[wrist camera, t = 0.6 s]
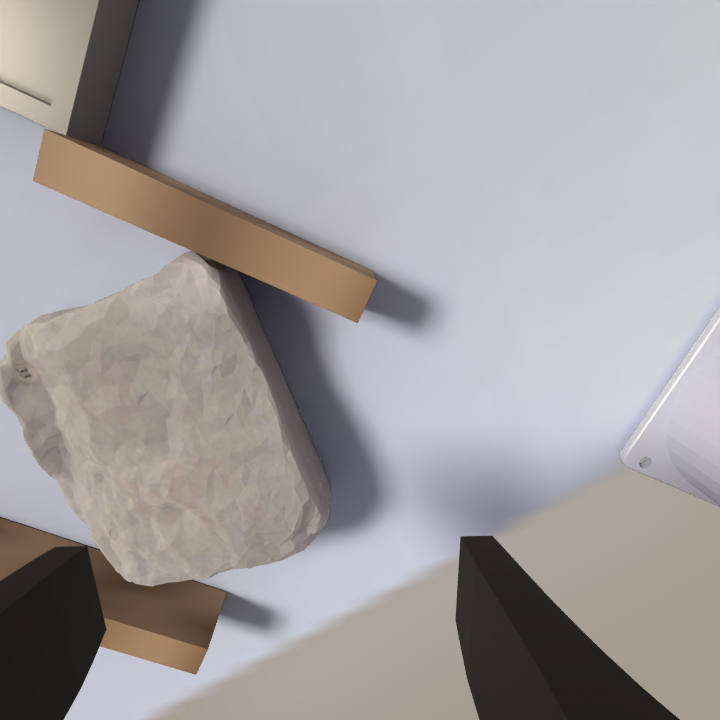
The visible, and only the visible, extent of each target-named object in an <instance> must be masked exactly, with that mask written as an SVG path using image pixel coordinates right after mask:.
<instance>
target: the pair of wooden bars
mask: <svg viewBox="0 0 720 720" xmlns="http://www.w3.org/2000/svg"><path fill="white" fill-rule="evenodd" d="M33 181H35V182H37V183H39V184H41V185H44V186H46V187H48V188H51V189H53V190H55V191H57V192H60V193H62V194H64V195H67V196H69V197H71V198H73V199H76V200H78V201H80V202H82V203H85V204H87V205H89V206H92V207H94V208H96V209H98V210H101V211H103V212H105V213H108V214H110V215H112V216H114V217H117V218H119V219H121V220H124V221H126V222H128V223H130V224H133V225H135V226H137V227H140V228H142V229H144V230H146V231H149V232H151V233H153V234H155V235H158V236H160V237H162V238H165V239H167V240H169V241H171V242H174V243H176V244H178V245H181V246H183V247H185V248H187V249H190V250H192V251H194V252H197V253H199V254H201V255H203V256H206V257H208V258H210V259H213V260H215V261H217V262H219V263H222V264H224V265H226V266H228V267H231V268H233V269H235V270H238V271H240V272H242V273H244V274H247V275H249V276H251V277H254V278H256V279H258V280H260V281H263V282H265V283H267V284H270V285H272V286H274V287H276V288H279V289H281V290H283V291H286V292H288V293H290V294H292V295H295V296H297V297H299V298H301V299H304V300H306V301H308V302H311V303H313V304H315V305H317V306H320V307H322V308H324V309H327V310H329V311H331V312H333V313H336V314H338V315H340V316H343V317H345V318H347V319H349V320H352V321H354V322H356V323H358V322H359V319H360V317H361V315H362V313H363V311H364V308H365V306H366V304H367V302H368V300H369V298H370V295H371V293H372V291H373V289H374V287H375V285H376V282H377V279H376V277H375V275H374V273H373V271H371V270H369V269H367V268H365V267H363V266H361V265H358V264H356V263H354V262H352V261H350V260H348V259H345V258H343V257H341V256H339V255H337V254H334V253H332V252H330V251H328V250H326V249H324V248H321V247H319V246H317V245H315V244H313V243H311V242H308V241H306V240H304V239H302V238H300V237H297V236H295V235H293V234H291V233H289V232H287V231H284V230H282V229H280V228H278V227H276V226H273V225H271V224H269V223H267V222H265V221H263V220H260V219H258V218H256V217H254V216H252V215H250V214H247V213H245V212H243V211H241V210H239V209H236V208H234V207H232V206H230V205H228V204H226V203H223V202H221V201H219V200H217V199H215V198H213V197H210V196H208V195H206V194H204V193H202V192H199V191H197V190H195V189H193V188H191V187H189V186H186V185H184V184H182V183H180V182H178V181H175V180H173V179H171V178H169V177H167V176H165V175H162V174H160V173H158V172H156V171H154V170H152V169H149V168H147V167H145V166H143V165H141V164H138V163H136V162H134V161H132V160H130V159H128V158H125V157H123V156H121V155H119V154H117V153H115V152H112V151H110V150H108V149H106V148H104V147H101V146H99V145H95V144H92V143H89V142H86V141H82V140H79V139H76V138H73V137H69V136H66V135H63V134H59V133H56V132H53V131H50V130H46V129H45V130H44V134H43V139H42V143H41V148H40V152H39V156H38V161H37V165H36V169H35V174H34V178H33ZM69 546H85V545H82V544H79V543H76V542H73V541H70V540H67V539H64V538H61V537H58V536H55V535H52V534H49V533H46V532H42V531H39V530H36V529H33V528H30V527H27V526H24V525H21V524H18V523H15V522H12V521H9V520H6V519H3V518H0V581H1V580H2V579H4V578H6V577H7V576H9V575H10V574H12V573H13V572H15V571H16V570H18V569H20V568H21V567H23V566H24V565H26V564H27V563H29V562H31V561H32V560H34V559H35V558H37V557H39V556H40V555H42V554H44V553H46V552H47V551H49V550H51V549H53V548H54V547H69ZM87 547H88V546H87ZM88 552H89V556H90V560H91V565H92V569H93V573H94V578H95V582H96V586H97V590H98V595H99V599H100V603H101V608H102V612H103V616H104V621H105V625H106V629H107V630H106V632H105V634H104V637H103V639H102V641H101V644H100V646H101V647H105V648H108V649H112V650H115V651H118V652H122V653H125V654H128V655H132V656H135V657H138V658H142V659H145V660H149V661H152V662H155V663H159V664H162V665H165V666H169V667H172V668H175V669H179V670H182V671H186V672H189V673H192V674H197V672H198V670H199V667H200V665H201V663H202V661H203V659H204V656H205V654H206V652H207V650H208V647H209V644H210V641H211V638H212V635H213V632H214V629H215V626H216V623H217V620H218V617H219V613H220V610H221V607H222V604H223V601H224V598H225V595H226V592H225V591H222V590H219V589H216V588H213V587H210V586H207V585H204V584H201V583H198V582H195V581H192V580H186V581H180V582H169V583H164V584H160V585H155V586H146V585H140V584H135V583H134V582H133V581H132V582H129V581H127V580H125V579H124V578H123V577H122V575H121V574H120V573H118V572H116V570H115V569H114V567H113V566H112V565H111V564H110V562H109V561H108V560H107V558H106V557H105V556H104V554H103V553H102V552H101V551H100V550H97V549H94V548H91V547H88Z"/></svg>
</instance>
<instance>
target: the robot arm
mask: <svg viewBox="0 0 720 720" xmlns="http://www.w3.org/2000/svg"><path fill="white" fill-rule="evenodd" d="M645 457H646V459H645V461H644V462H642V463H640V461H641V460H642V459H643V458H645ZM620 460H621V462H622V463H623V464H624V465H626V466H627V467H628V468H631V469H633V470H635V471H638V472H640V473H642V474H645V475H647V476H649V477H652V478H654V479H657V480H659V481H661V482H664V483H666V484H668V485H671V486H673V487H675V488H677V489H680V490H682V491H684V492H687V493H689V494H691V495H694V496H696V497H699V498H701V499H703V500H705V501H708V502H710V503H712V504H715V505H717V506H719V507H720V307H719V309H718V310H717V312H716V313H715V315H714V316H713V318H712V319H711V321H710V322H709V323H708V325H707V326H706V328H705V329H704V331H703V332H702V334H701V335H700V337H699V338H698V340H697V341H696V342H695V344H694V345H693V347H692V348H691V350H690V351H689V353H688V354H687V356H686V357H685V358H684V360H683V361H682V363H681V364H680V366H679V367H678V369H677V370H676V372H675V373H674V375H673V376H672V377H671V379H670V380H669V382H668V383H667V385H666V386H665V388H664V389H663V391H662V392H661V393H660V395H659V396H658V398H657V399H656V401H655V402H654V404H653V405H652V407H651V408H650V410H649V411H648V412H647V414H646V415H645V417H644V418H643V420H642V421H641V423H640V424H639V426H638V427H637V429H636V430H635V431H634V433H633V434H632V436H631V437H630V439H629V440H628V442H627V443H626V445H625V446H624V447H623V449H622V450H621V453H620ZM639 463H640V464H639ZM456 624H457V630H458V635H459V640H460V645H461V651H462V655H463V660H464V665H465V670H466V675H467V679H468V683H469V686H470V689H471V693H472V696H473V700H474V703H475V706H476V710H477V713H478V716H479V719H480V720H680V719H678V718H677V717H676V716H675V715H674V714H672V713H671V712H670V711H669V710H668V709H666V708H665V707H664V706H663V705H662V704H660V703H659V702H658V701H657V700H656V699H655V698H654V697H652V696H651V695H650V694H649V693H648V692H647V691H645V690H644V689H643V688H642V687H641V686H640V685H639V684H638V683H637V682H635V681H634V680H633V679H632V678H631V677H630V676H629V675H628V674H627V673H626V672H625V671H624V670H623V669H621V668H620V667H619V666H618V665H617V664H616V663H615V662H614V661H613V660H612V659H611V658H609V657H608V656H607V655H606V654H605V653H604V652H603V651H602V650H601V649H600V648H599V647H598V646H597V645H596V644H595V643H594V642H593V641H592V640H591V639H590V638H589V637H588V636H587V635H586V634H585V633H583V631H582V630H581V629H580V628H579V627H578V626H577V625H576V624H575V623H574V622H573V621H572V620H571V619H570V618H569V617H568V616H567V615H566V614H565V613H564V612H563V611H562V610H561V609H560V608H559V607H558V606H557V605H556V604H555V603H554V602H553V601H552V600H551V599H550V598H549V597H548V596H547V595H546V594H545V593H544V591H543V590H542V589H541V588H540V587H539V586H538V585H537V584H536V583H535V582H534V581H533V580H532V579H531V578H530V576H528V574H527V573H526V572H525V571H524V570H523V569H522V568H521V567H520V566H519V564H518V563H517V562H516V561H515V560H514V559H513V558H512V557H511V556H510V555H509V553H508V552H507V551H506V550H505V549H504V548H503V547H502V546H501V545H500V544H499V542H498V541H497V540H496V539H495V538H494V537H493V536H467V537H461V540H460V556H459V574H458V590H457V607H456ZM106 630H107V629H106V625H105V621H104V616H103V612H102V608H101V603H100V599H99V595H98V590H97V586H96V582H95V578H94V573H93V569H92V565H91V560H90V556H89V552H88V547H87V546H69V547H54V548H53V549H51V550H49V551H47V552H46V553H44V554H42V555H40V556H39V557H37V558H35V559H34V560H32V561H31V562H29V563H27V564H26V565H24V566H23V567H21V568H20V569H18V570H16V571H15V572H13V573H12V574H10V575H9V576H7V577H6V578H4V579H2V580H1V581H0V720H63V719H64V718H65V716H66V714H67V712H68V711H69V709H70V707H71V705H72V704H73V702H74V700H75V698H76V696H77V694H78V693H79V691H80V689H81V687H82V685H83V682H84V680H85V678H86V676H87V674H88V671H89V669H90V667H91V665H92V663H93V660H94V658H95V656H96V653H97V651H98V649H99V646H100V644H101V641H102V639H103V637H104V634H105V632H106Z"/></svg>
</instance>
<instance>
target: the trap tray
mask: <svg viewBox="0 0 720 720" xmlns="http://www.w3.org/2000/svg"><path fill="white" fill-rule="evenodd" d="M138 3H139V0H0V106H3V107H5V108H7V109H9V110H11V111H14V112H16V113H18V114H20V115H22V116H24V117H27V118H29V119H31V120H33V121H35V122H38V123H40V124H42V125H44V126H46V127H48V128H51V129H53V130H55V131H57V132H59V133H62V134H64V135H66V136H69V137H73V138H76V139H79V140H82V141H86V142H89V143H92V144H95V145H99V146H101V143H102V139H103V135H104V131H105V127H106V124H107V120H108V116H109V112H110V109H111V105H112V101H113V97H114V93H115V90H116V86H117V82H118V78H119V74H120V71H121V67H122V63H123V59H124V56H125V52H126V48H127V44H128V40H129V37H130V33H131V29H132V25H133V22H134V18H135V14H136V10H137V6H138Z"/></svg>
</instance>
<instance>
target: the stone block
mask: <svg viewBox="0 0 720 720" xmlns="http://www.w3.org/2000/svg"><path fill="white" fill-rule="evenodd" d="M6 349H7V354H6V356H5V357H4V358H3V359H2V360H1V361H0V397H1V399H2V401H3V402H4V403H5V404H6V406H7V407H8V408H9V409H10V410H11V411H12V412H13V413H14V414H15V415H16V416H17V418H18V420H19V421H20V423H21V425H22V427H23V432H24V440H25V442H26V444H27V446H28V447H29V449H30V451H31V453H32V454H33V456H34V458H35V459H36V461H37V462H38V463H39V465H40V466H41V467H42V469H43V470H44V471H45V472H47V473H48V474H49V475H50V476H51V477H52V478H54V479H56V480H57V482H58V485H59V487H60V489H61V491H62V492H63V494H64V497H65V500H66V501H67V502H68V504H69V505H70V506H71V507H72V509H73V510H74V512H75V513H76V514H77V516H78V517H79V518H80V519H81V520H82V521H84V522H85V523H86V524H87V525H88V526H89V529H90V531H91V538H92V539H93V541H94V542H95V543H96V545H97V546H98V547H99V549H100V550H101V552H102V553H103V554H104V556H105V557H106V558H107V560H108V561H109V562H110V564H111V565H112V566H113V567H114V569H115V570H116V572H118V573H120V574H121V575H122V577H123V578H124V579H125V580H127V581H129V582H132V581H133V582H134V583H135V584H140V585H146V586H155V585H160V584H164V583H169V582H180V581H186V580H193V579H208V578H210V577H212V576H214V575H216V574H218V573H221V572H224V571H227V570H230V569H242V568H252V567H255V566H258V565H264V564H269V563H272V562H276V561H280V560H283V559H285V558H288V557H290V556H291V555H293V554H295V553H298V552H300V551H302V550H304V549H305V548H306V547H307V546H308V545H309V544H310V543H311V542H312V541H313V540H314V539H315V537H316V536H317V535H318V533H319V532H320V531H321V530H322V529H323V528H324V527H325V525H326V522H328V519H329V514H330V505H329V501H330V493H331V487H330V484H329V480H328V478H327V476H326V474H325V472H324V469H323V466H322V463H321V461H320V459H319V457H318V455H317V452H316V450H315V448H314V446H313V444H312V441H311V439H310V436H309V434H308V431H307V429H306V427H305V425H304V423H303V420H302V418H301V416H300V414H299V411H298V409H297V406H296V404H295V401H294V399H293V397H292V394H291V392H290V390H289V388H288V385H287V383H286V381H285V378H284V376H283V374H282V371H281V369H280V366H279V364H278V362H277V360H276V357H275V355H274V353H273V351H272V348H271V346H270V344H269V342H268V340H267V338H266V336H265V334H264V331H263V328H262V326H261V323H260V321H259V319H258V316H257V314H256V311H255V309H254V307H253V304H252V302H251V299H250V296H249V294H248V292H247V290H246V288H245V285H244V283H243V281H242V278H241V276H240V274H239V273H238V271H237V270H235V269H233V268H231V267H228V266H226V265H224V264H222V263H219V262H217V261H215V260H213V259H210V258H208V257H206V256H203V255H201V254H199V253H197V252H194V251H190V252H187V253H185V254H183V255H181V256H180V257H178V258H177V259H175V260H174V261H173V262H171V263H170V264H168V265H166V266H165V267H164V268H163V269H162V270H161V271H160V272H159V273H157V274H156V275H154V276H152V277H149V278H146V279H142V280H141V281H140V282H138V283H137V284H133V285H131V286H129V287H128V288H126V289H124V290H123V291H120V292H117V293H115V294H113V295H111V296H109V297H106V298H104V299H101V300H99V301H97V302H95V303H93V304H91V305H87V306H84V307H77V308H72V309H67V310H61V311H57V312H54V313H50V314H46V315H42V316H40V317H38V318H36V319H35V320H33V321H32V322H30V323H29V324H27V325H26V326H25V327H23V328H22V329H20V330H19V331H17V332H16V333H15V334H14V335H13V336H12V337H11V338H10V339H9V340H8V341H7V342H6Z"/></svg>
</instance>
